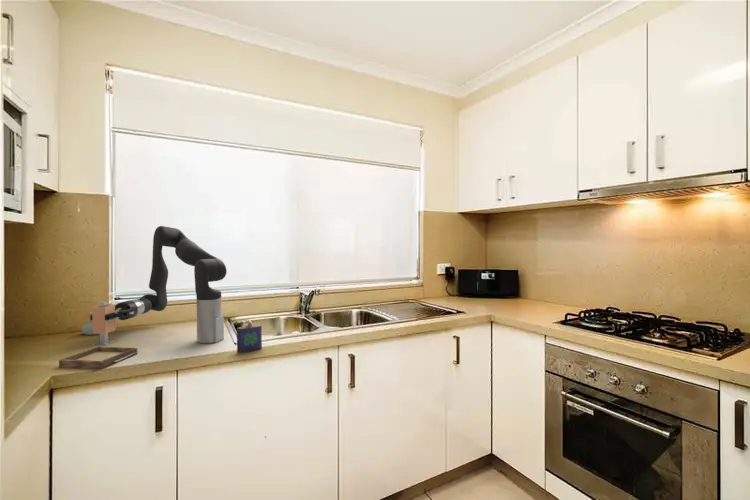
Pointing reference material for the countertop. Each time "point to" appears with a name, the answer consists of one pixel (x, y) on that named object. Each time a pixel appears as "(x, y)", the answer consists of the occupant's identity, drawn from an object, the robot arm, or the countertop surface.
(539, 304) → the countertop surface
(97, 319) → the collar
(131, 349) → the tray
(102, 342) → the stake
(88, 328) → the air freshener
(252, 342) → the flask
